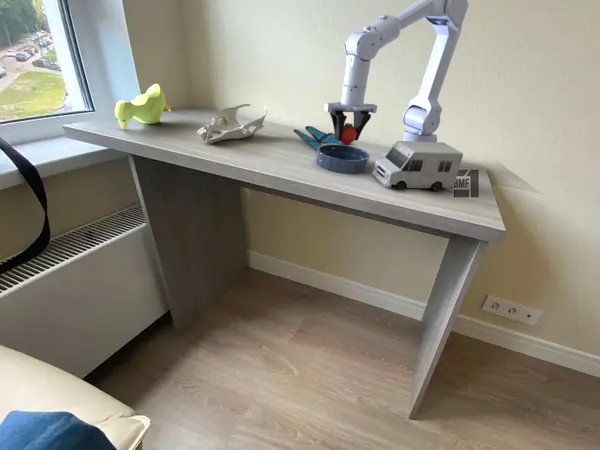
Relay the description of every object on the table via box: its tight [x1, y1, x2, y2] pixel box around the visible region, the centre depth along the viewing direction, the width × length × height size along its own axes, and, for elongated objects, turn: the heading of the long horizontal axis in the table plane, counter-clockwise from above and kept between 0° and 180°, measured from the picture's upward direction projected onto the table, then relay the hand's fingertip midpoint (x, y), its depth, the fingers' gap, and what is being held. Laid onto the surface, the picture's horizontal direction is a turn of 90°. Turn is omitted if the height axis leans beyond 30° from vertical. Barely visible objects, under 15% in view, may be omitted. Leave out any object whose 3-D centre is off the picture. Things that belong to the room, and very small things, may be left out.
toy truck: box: [371, 140, 464, 192], centre depth 92 cm, size 13×20×10 cm, turn 90°
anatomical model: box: [196, 103, 268, 144], centre depth 114 cm, size 15×9×25 cm
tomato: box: [341, 122, 357, 146], centre depth 98 cm, size 5×5×5 cm
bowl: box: [315, 144, 370, 175], centre depth 101 cm, size 14×14×4 cm
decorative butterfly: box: [293, 125, 345, 152], centre depth 117 cm, size 20×14×3 cm
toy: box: [114, 83, 172, 130], centre depth 117 cm, size 6×17×20 cm
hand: (346, 139), depth 98 cm, fingers closed on tomato, 5 cm apart
